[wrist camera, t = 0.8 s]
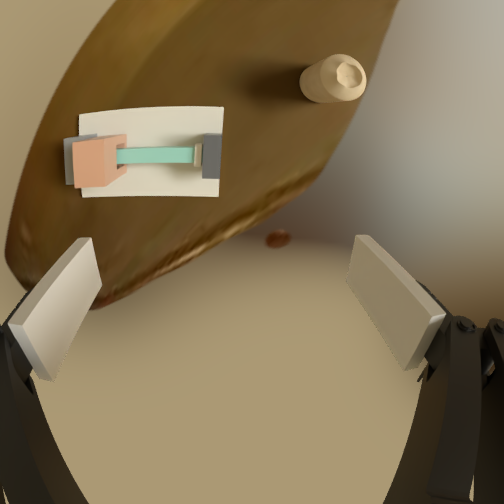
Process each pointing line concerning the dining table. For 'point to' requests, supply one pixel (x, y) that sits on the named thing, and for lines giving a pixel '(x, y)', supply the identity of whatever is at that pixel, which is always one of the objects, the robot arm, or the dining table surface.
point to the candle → (333, 80)
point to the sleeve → (98, 160)
